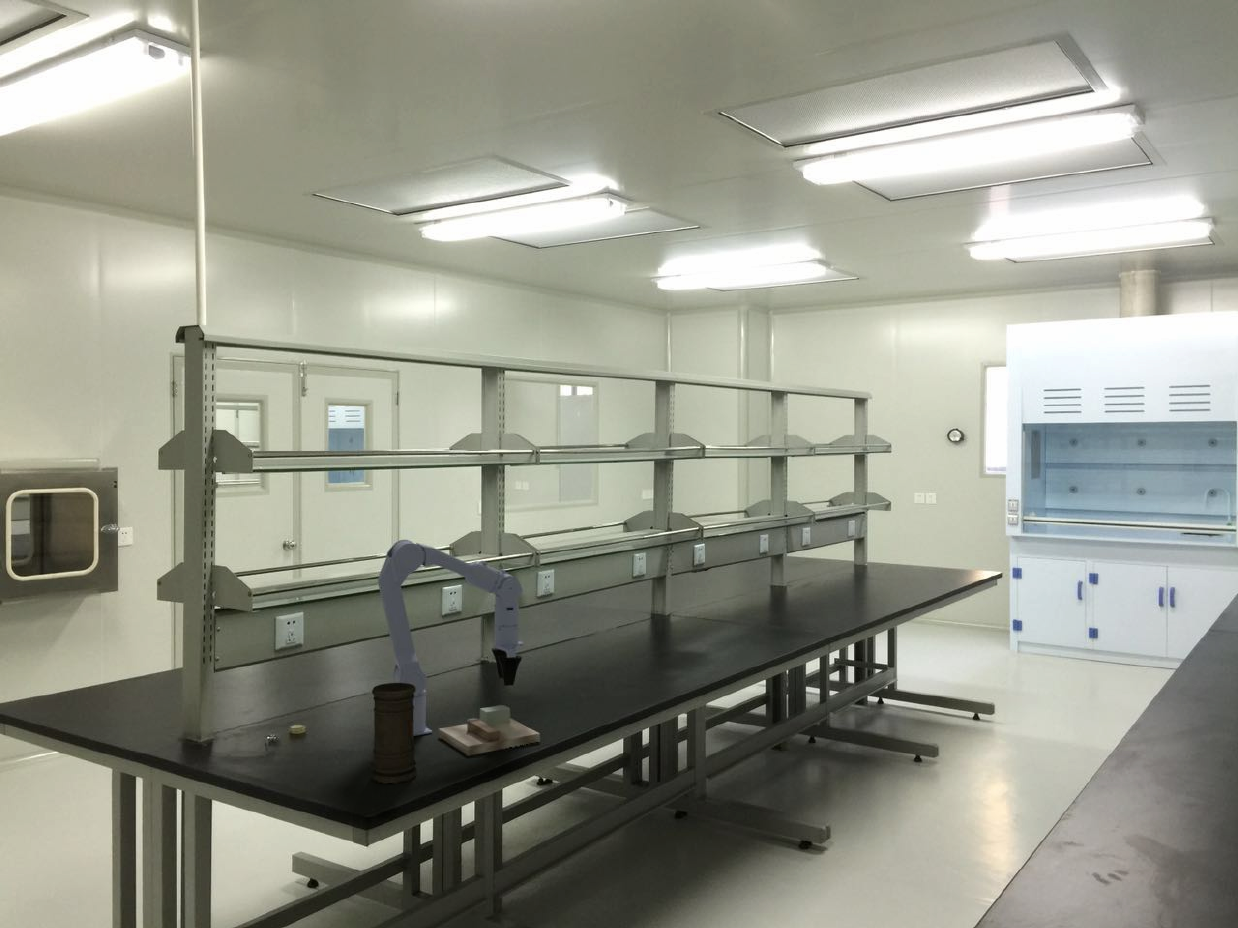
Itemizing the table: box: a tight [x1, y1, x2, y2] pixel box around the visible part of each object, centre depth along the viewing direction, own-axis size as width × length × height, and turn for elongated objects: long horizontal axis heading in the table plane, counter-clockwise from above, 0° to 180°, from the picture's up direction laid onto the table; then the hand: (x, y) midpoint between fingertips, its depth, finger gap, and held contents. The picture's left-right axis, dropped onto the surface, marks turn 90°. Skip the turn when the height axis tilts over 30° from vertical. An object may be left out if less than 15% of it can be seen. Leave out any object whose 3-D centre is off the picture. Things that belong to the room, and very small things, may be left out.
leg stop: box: [479, 704, 511, 725], centre depth 231 cm, size 6×4×3 cm, turn 124°
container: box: [370, 682, 417, 784], centre depth 199 cm, size 9×9×18 cm
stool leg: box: [466, 718, 500, 742], centre depth 220 cm, size 12×3×2 cm, turn 34°
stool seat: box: [438, 717, 541, 756], centre depth 224 cm, size 18×16×2 cm
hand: (506, 681), depth 238 cm, fingers open, 7 cm apart
